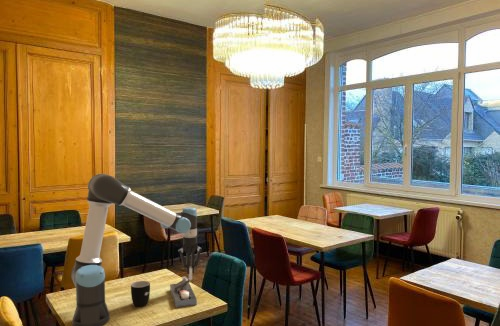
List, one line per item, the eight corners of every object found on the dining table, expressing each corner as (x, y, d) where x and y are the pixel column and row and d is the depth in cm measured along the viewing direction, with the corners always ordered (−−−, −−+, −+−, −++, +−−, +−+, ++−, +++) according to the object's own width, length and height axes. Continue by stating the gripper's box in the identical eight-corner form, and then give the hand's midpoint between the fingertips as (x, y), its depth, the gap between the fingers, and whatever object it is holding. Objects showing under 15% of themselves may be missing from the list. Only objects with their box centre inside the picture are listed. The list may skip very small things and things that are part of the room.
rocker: (175, 290, 192) (174, 288, 191) (174, 287, 195) (173, 285, 195) (189, 281, 194) (188, 279, 194) (188, 279, 198) (187, 277, 197)
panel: (175, 307, 178) (175, 298, 178) (170, 289, 201) (170, 281, 201) (196, 304, 182) (196, 295, 181) (188, 287, 204) (188, 279, 204)
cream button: (181, 300, 181) (181, 294, 181) (180, 297, 184) (180, 291, 184) (189, 299, 182) (189, 293, 182) (188, 296, 186) (188, 290, 186)
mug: (145, 308, 178) (145, 287, 177) (127, 307, 179) (127, 286, 179) (155, 298, 189) (155, 279, 189) (138, 297, 191) (138, 278, 190)
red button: (180, 299, 187) (180, 293, 187) (179, 296, 190) (179, 290, 190) (187, 298, 188) (187, 292, 188) (186, 295, 191) (186, 289, 191)
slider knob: (183, 284, 200) (182, 278, 200) (182, 282, 203) (182, 276, 203) (186, 283, 201) (186, 278, 201) (185, 281, 204) (185, 276, 204)
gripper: (178, 238, 197) (179, 283, 197) (203, 236, 201) (203, 280, 201) (176, 235, 204) (177, 278, 204) (200, 233, 208) (201, 275, 209)
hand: (190, 279), depth 203 cm, fingers closed
